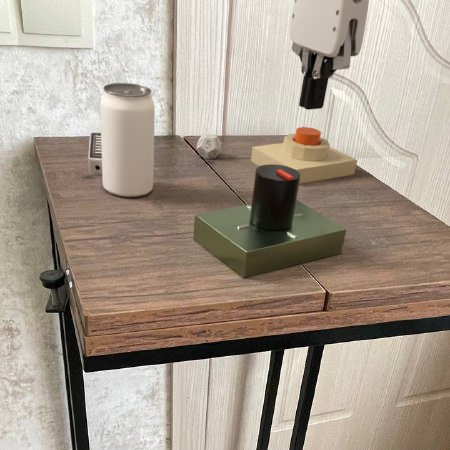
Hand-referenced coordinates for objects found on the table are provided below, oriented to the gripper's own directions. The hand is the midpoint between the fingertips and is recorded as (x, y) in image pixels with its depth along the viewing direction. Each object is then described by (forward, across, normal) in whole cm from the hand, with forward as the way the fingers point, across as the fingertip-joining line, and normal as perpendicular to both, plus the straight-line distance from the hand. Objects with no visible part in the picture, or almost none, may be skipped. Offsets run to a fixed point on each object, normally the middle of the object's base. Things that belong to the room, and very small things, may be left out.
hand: (310, 107), depth 88 cm
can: (+9, +2, +28) cm, 29 cm away
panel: (+8, -19, +21) cm, 30 cm away
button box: (+8, 0, 0) cm, 9 cm away
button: (+5, 0, 0) cm, 5 cm away
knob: (+5, -19, +21) cm, 29 cm away
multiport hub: (+9, +12, +26) cm, 30 cm away
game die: (+9, +9, +11) cm, 16 cm away
